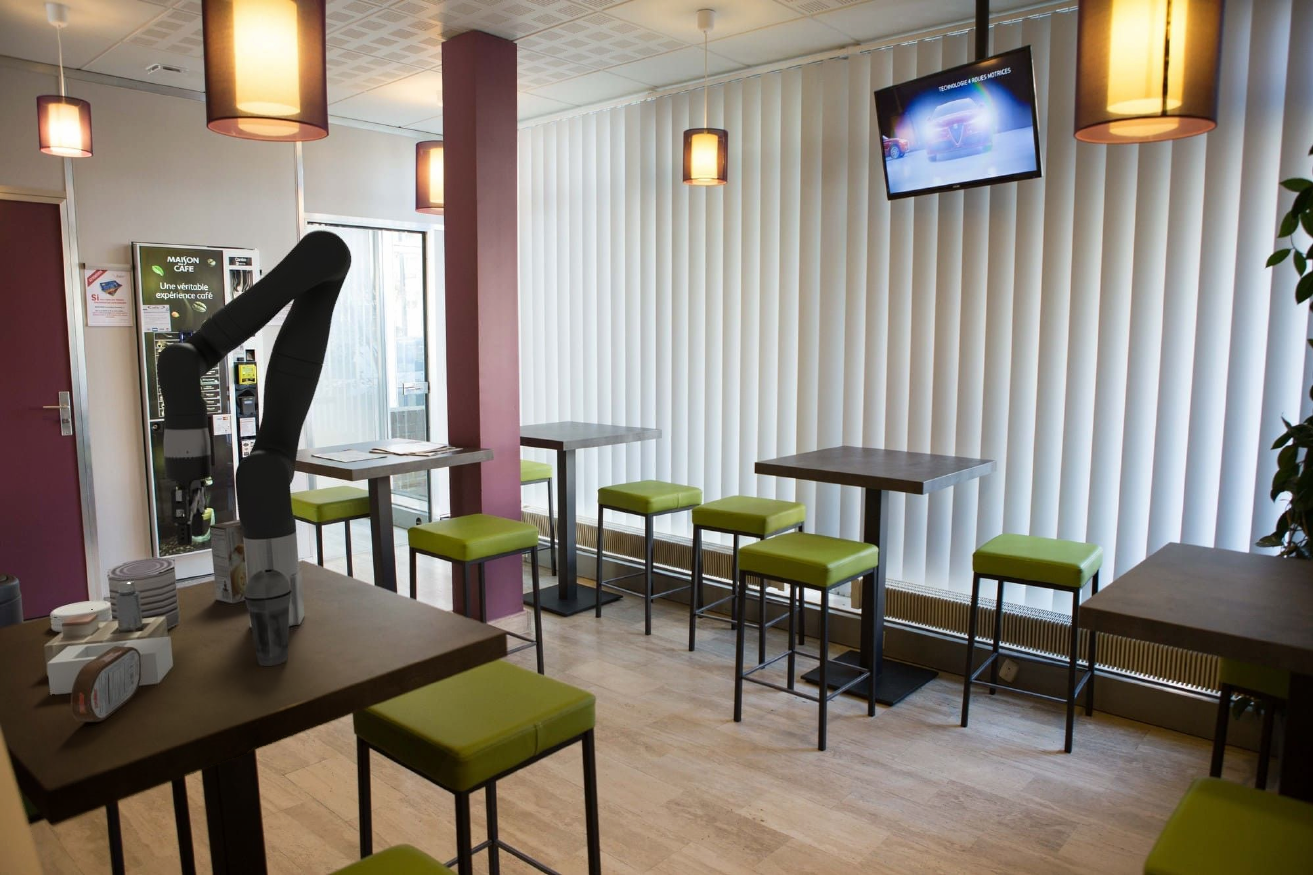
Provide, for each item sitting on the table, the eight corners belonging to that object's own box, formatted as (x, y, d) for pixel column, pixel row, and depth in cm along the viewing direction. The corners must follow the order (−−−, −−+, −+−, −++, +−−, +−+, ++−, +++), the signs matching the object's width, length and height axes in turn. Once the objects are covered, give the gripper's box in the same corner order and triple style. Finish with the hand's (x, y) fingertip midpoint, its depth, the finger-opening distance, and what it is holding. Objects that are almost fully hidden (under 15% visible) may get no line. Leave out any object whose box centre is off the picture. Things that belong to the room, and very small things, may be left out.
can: (194, 618, 172) (189, 558, 171) (151, 637, 161) (145, 573, 160) (143, 616, 174) (137, 557, 173) (97, 635, 163) (91, 572, 162)
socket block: (168, 643, 157) (166, 616, 157) (149, 665, 147) (146, 636, 146) (73, 652, 154) (71, 625, 153) (47, 675, 143) (44, 645, 143)
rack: (173, 665, 146) (170, 636, 146) (158, 683, 138) (155, 652, 138) (71, 675, 143) (68, 646, 142) (50, 694, 135) (47, 663, 134)
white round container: (47, 636, 164) (45, 618, 163) (55, 622, 173) (53, 604, 172) (110, 627, 168) (108, 609, 168) (115, 613, 177) (113, 596, 177)
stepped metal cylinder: (148, 651, 153) (141, 579, 152) (141, 659, 150) (134, 584, 148) (125, 654, 152) (118, 581, 151) (118, 661, 149) (111, 586, 147)
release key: (100, 639, 151) (97, 613, 151) (91, 646, 147) (88, 620, 147) (74, 641, 150) (71, 616, 150) (64, 649, 147) (61, 623, 146)
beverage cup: (306, 655, 149) (297, 540, 147) (274, 671, 143) (265, 550, 140) (271, 651, 152) (263, 537, 150) (239, 666, 145) (229, 547, 143)
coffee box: (255, 588, 192) (249, 516, 190) (272, 592, 189) (267, 519, 187) (214, 599, 184) (208, 524, 183) (232, 604, 181) (226, 527, 179)
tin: (126, 690, 136) (121, 637, 135) (148, 689, 136) (143, 636, 135) (70, 733, 121) (64, 674, 120) (94, 732, 121) (88, 673, 120)
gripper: (200, 457, 155) (203, 547, 156) (219, 448, 168) (222, 531, 170) (152, 458, 153) (157, 549, 154) (175, 448, 167) (179, 533, 168)
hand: (191, 540), depth 162 cm, fingers open, 8 cm apart
